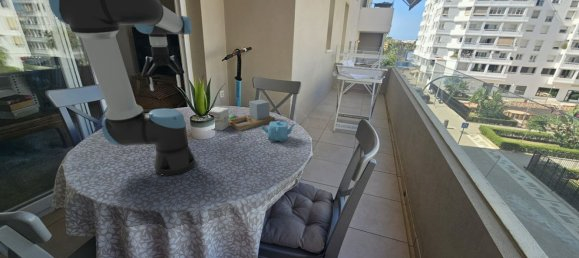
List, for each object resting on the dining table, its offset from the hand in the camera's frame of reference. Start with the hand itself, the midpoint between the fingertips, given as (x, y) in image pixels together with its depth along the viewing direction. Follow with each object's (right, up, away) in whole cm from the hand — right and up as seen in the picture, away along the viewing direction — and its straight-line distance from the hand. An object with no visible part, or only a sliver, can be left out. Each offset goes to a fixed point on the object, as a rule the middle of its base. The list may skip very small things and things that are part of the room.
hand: (166, 88), depth 126 cm
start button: (+29, -16, +22) cm, 40 cm away
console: (+29, -17, +22) cm, 40 cm away
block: (+46, -16, +22) cm, 54 cm away
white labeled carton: (+25, -21, +11) cm, 34 cm away
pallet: (+42, -18, +19) cm, 49 cm away
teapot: (+59, -27, -1) cm, 65 cm away
